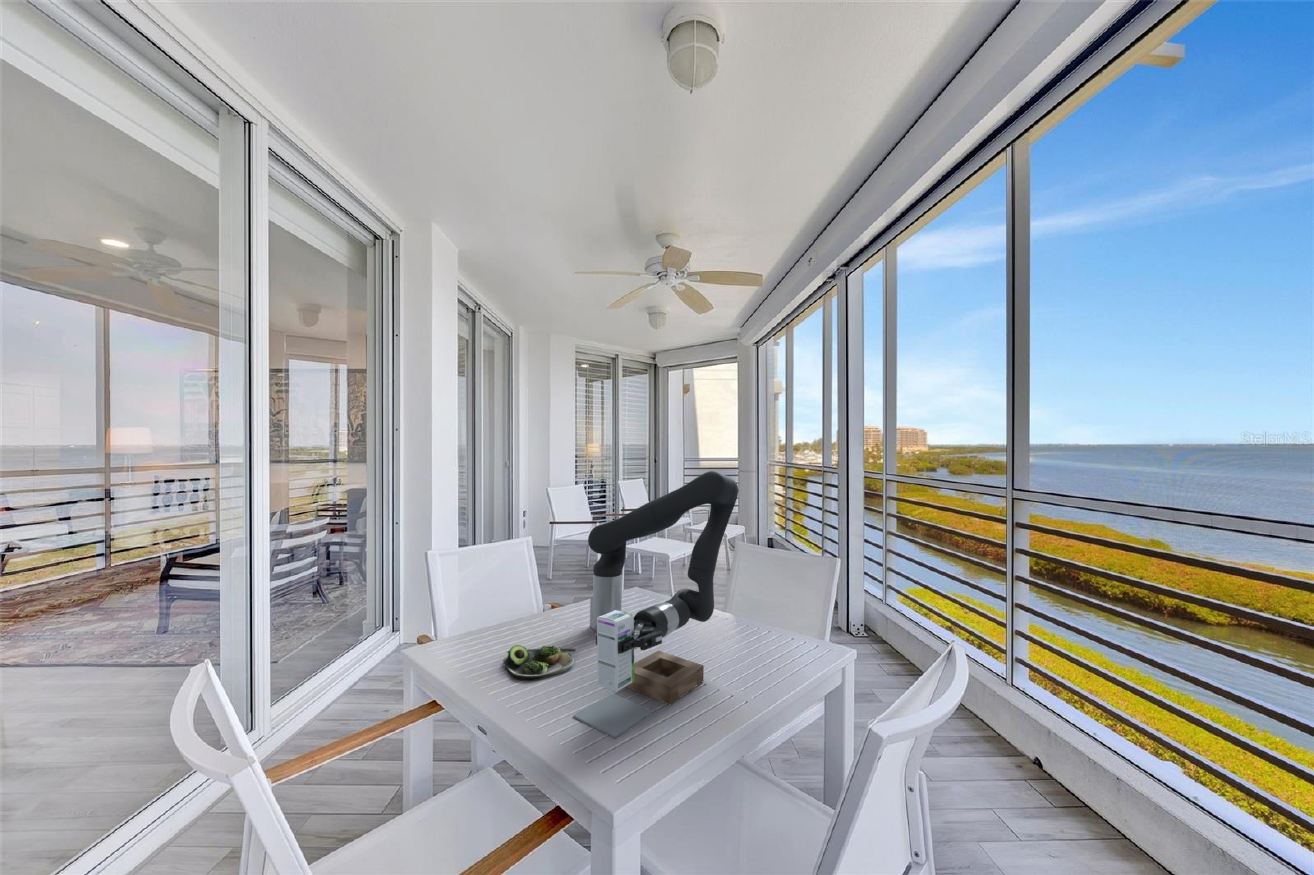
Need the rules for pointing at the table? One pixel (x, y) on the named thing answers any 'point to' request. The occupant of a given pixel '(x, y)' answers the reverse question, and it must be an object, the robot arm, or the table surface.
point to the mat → (613, 715)
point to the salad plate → (536, 661)
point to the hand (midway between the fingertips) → (608, 644)
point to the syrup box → (614, 650)
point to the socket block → (661, 687)
